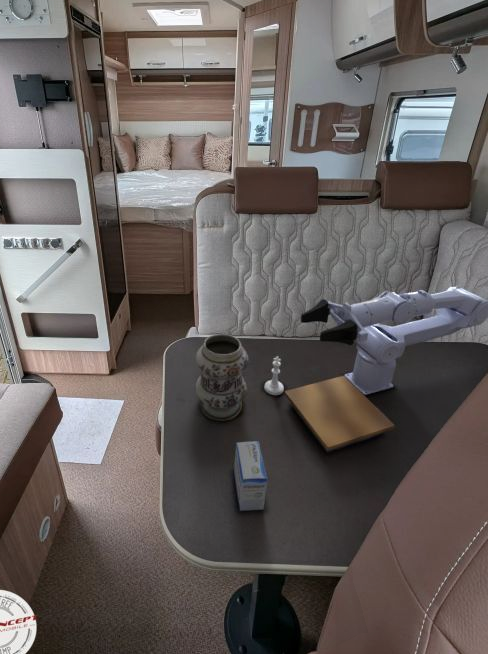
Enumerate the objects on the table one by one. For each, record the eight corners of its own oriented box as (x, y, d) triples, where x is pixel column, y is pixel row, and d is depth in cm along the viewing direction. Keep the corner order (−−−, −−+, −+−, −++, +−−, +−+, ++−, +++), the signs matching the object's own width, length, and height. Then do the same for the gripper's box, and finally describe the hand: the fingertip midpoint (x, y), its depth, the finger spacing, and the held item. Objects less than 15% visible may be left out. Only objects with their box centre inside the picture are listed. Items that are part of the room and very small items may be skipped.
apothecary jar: (235, 384, 94) (238, 325, 86) (253, 418, 84) (258, 355, 76) (190, 393, 91) (189, 333, 83) (203, 429, 81) (203, 365, 73)
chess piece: (283, 396, 90) (287, 364, 86) (263, 393, 91) (266, 361, 87) (283, 383, 95) (287, 352, 90) (264, 380, 96) (267, 349, 91)
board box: (340, 387, 94) (343, 375, 92) (390, 438, 79) (394, 425, 77) (283, 403, 88) (284, 391, 86) (325, 461, 74) (328, 447, 72)
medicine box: (233, 472, 71) (235, 441, 68) (255, 470, 72) (258, 439, 68) (239, 512, 64) (241, 480, 61) (264, 510, 65) (268, 478, 61)
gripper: (345, 285, 88) (295, 296, 84) (388, 316, 76) (333, 330, 72) (341, 310, 91) (293, 321, 88) (382, 343, 79) (328, 357, 76)
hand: (311, 327), depth 80 cm, fingers open, 7 cm apart
